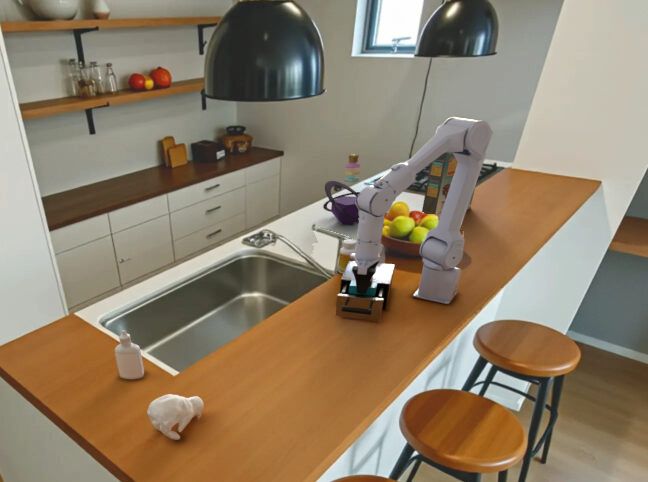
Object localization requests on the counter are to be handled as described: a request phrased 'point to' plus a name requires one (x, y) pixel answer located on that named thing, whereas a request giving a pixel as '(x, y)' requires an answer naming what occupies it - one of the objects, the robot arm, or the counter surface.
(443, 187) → the cake mix box
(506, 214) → the counter surface
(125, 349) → the eye dropper bottle
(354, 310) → the drawer
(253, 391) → the counter surface
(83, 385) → the counter surface
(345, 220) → the decorative bottle
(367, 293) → the toy car
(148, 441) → the counter surface
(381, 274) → the cabinet
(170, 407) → the white animal figurine
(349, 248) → the supplement bottle
